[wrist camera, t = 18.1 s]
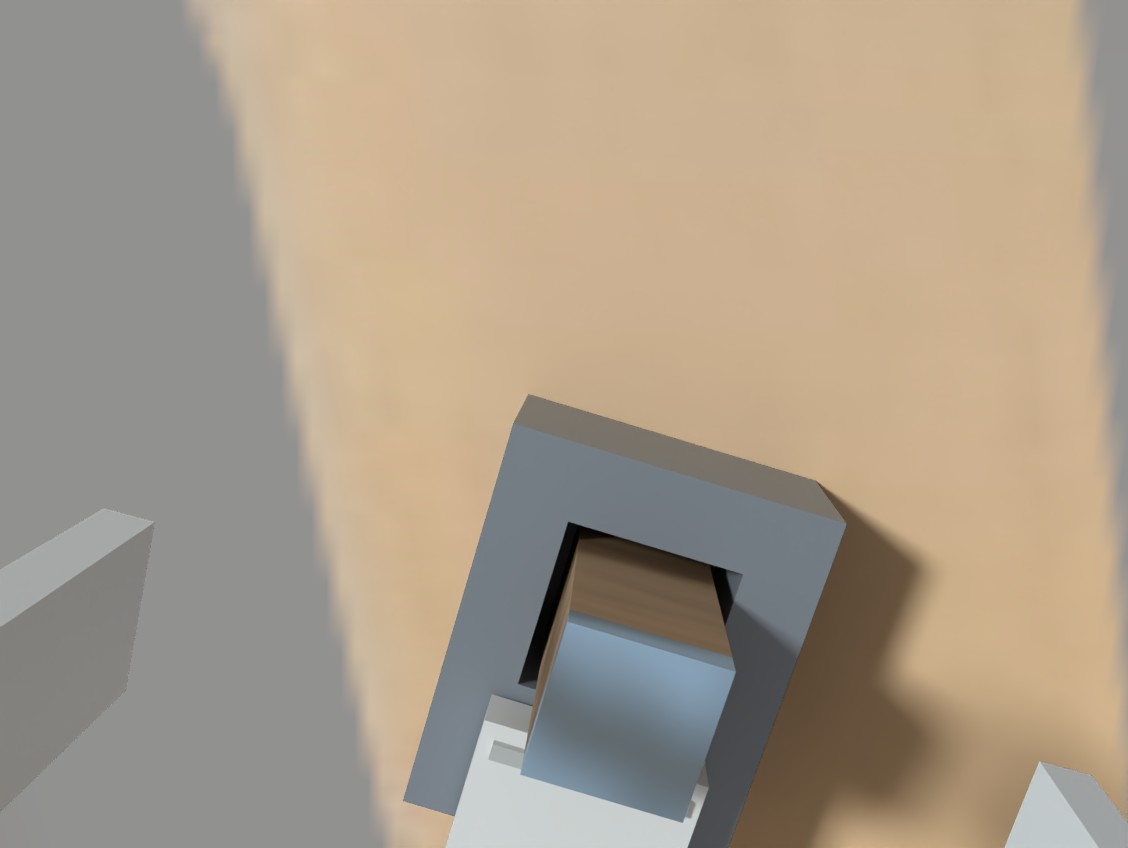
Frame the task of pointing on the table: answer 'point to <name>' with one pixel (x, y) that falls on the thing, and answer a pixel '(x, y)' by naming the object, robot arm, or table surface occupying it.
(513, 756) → the lid
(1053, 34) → the table surface
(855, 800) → the table surface
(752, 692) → the socket block
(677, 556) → the plug
